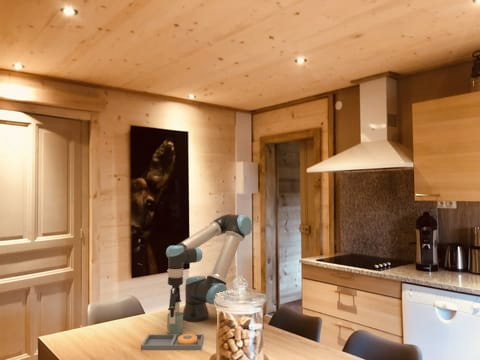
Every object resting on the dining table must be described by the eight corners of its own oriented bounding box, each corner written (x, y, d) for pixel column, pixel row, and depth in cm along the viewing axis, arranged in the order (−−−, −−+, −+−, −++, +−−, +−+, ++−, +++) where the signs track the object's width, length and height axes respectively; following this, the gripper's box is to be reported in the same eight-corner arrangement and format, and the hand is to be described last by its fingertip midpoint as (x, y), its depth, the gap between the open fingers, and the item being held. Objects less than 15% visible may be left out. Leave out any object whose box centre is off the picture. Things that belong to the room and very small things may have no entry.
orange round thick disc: (190, 339, 187) (190, 332, 188) (200, 344, 181) (200, 337, 181) (174, 343, 182) (174, 336, 182) (184, 349, 175) (184, 342, 175)
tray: (203, 339, 188) (203, 334, 188) (200, 351, 174) (200, 345, 174) (148, 339, 188) (148, 334, 188) (140, 351, 174) (140, 345, 174)
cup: (186, 333, 197) (186, 313, 197) (176, 338, 190) (176, 317, 190) (174, 330, 201) (174, 311, 201) (164, 335, 194) (164, 315, 194)
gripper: (172, 272, 209) (171, 311, 208) (163, 281, 184) (162, 326, 183) (186, 272, 209) (185, 312, 208) (179, 281, 184) (178, 327, 183)
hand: (174, 319), depth 195 cm, fingers open, 13 cm apart
